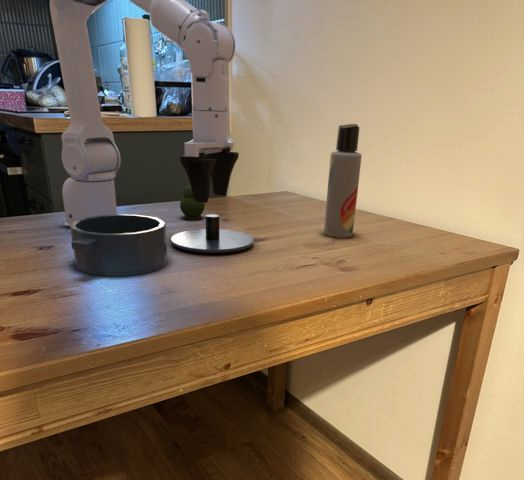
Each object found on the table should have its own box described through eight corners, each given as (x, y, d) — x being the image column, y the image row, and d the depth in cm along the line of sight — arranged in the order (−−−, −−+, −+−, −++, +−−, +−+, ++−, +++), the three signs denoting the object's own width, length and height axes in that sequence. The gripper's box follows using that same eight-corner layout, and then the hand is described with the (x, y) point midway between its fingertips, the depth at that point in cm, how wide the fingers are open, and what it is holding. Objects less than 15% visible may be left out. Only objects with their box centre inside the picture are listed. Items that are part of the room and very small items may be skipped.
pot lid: (155, 249, 85) (153, 219, 82) (194, 231, 97) (193, 204, 95) (234, 260, 80) (235, 228, 78) (264, 240, 93) (265, 212, 91)
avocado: (176, 219, 106) (174, 185, 103) (187, 214, 111) (186, 182, 108) (198, 221, 105) (197, 187, 102) (208, 217, 109) (208, 184, 106)
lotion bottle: (358, 236, 98) (371, 125, 89) (337, 239, 95) (348, 124, 86) (338, 230, 102) (349, 123, 93) (317, 233, 99) (326, 123, 90)
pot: (43, 273, 71) (36, 232, 69) (120, 243, 87) (116, 208, 85) (125, 287, 67) (121, 243, 65) (189, 252, 84) (188, 216, 81)
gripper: (214, 112, 72) (214, 207, 78) (249, 111, 84) (248, 194, 90) (170, 110, 74) (174, 203, 80) (212, 109, 86) (212, 190, 92)
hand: (211, 198), depth 85 cm, fingers open, 7 cm apart
